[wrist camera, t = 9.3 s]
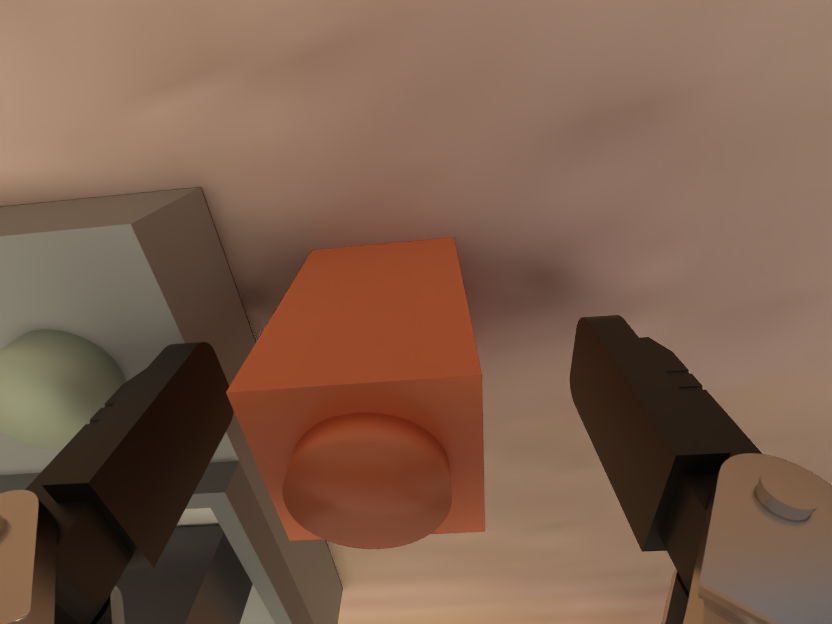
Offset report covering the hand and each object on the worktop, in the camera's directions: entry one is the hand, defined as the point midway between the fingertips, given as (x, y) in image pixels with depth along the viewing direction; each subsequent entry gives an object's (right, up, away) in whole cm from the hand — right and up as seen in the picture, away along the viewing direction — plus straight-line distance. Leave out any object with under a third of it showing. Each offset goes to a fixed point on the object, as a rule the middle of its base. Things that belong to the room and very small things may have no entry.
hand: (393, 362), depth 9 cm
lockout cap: (0, +1, +3) cm, 4 cm away
